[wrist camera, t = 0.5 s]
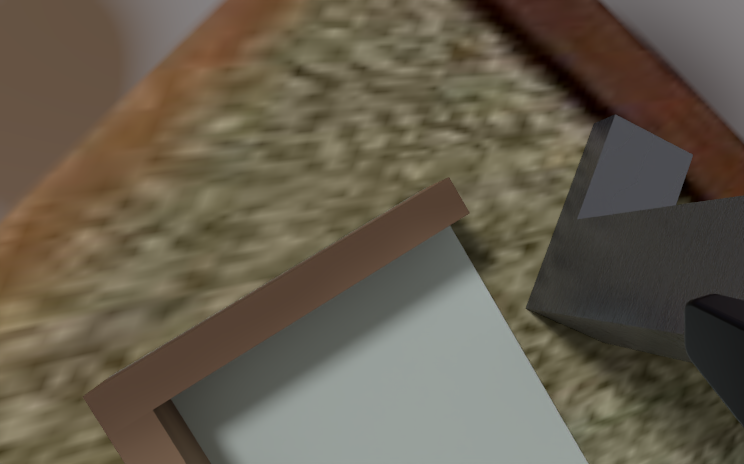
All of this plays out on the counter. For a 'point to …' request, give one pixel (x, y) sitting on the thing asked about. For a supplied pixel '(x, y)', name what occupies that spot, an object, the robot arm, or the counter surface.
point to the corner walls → (253, 329)
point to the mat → (385, 379)
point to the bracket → (637, 245)
